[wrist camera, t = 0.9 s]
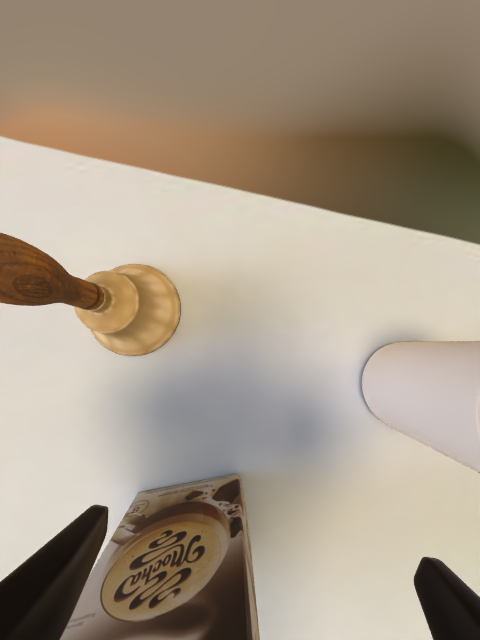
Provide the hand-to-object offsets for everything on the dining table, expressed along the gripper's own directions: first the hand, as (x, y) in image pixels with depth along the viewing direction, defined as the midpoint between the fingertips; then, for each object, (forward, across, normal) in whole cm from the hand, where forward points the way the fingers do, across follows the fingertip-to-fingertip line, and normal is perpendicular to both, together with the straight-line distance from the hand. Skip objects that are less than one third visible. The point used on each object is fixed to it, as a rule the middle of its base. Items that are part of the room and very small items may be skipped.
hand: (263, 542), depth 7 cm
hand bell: (+17, +11, -2) cm, 20 cm away
